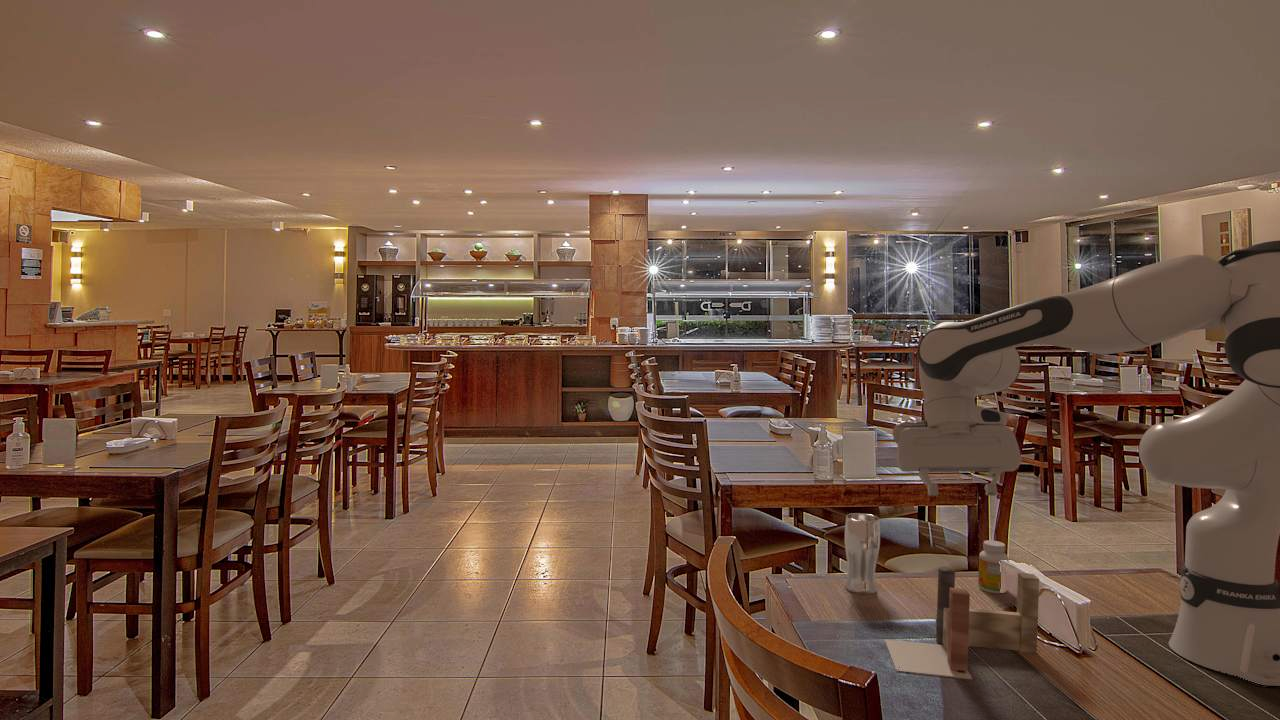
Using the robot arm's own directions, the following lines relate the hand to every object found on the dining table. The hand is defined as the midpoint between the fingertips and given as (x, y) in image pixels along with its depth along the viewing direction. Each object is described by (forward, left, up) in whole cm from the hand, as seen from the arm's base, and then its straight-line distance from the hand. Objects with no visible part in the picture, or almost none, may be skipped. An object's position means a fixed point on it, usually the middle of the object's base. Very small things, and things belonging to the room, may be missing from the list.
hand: (962, 494), depth 117 cm
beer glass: (+14, -18, -25) cm, 34 cm away
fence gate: (+4, +10, -24) cm, 27 cm away
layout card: (+8, +11, -25) cm, 28 cm away
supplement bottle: (-13, -24, -25) cm, 37 cm away
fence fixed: (-3, +4, -25) cm, 25 cm away
